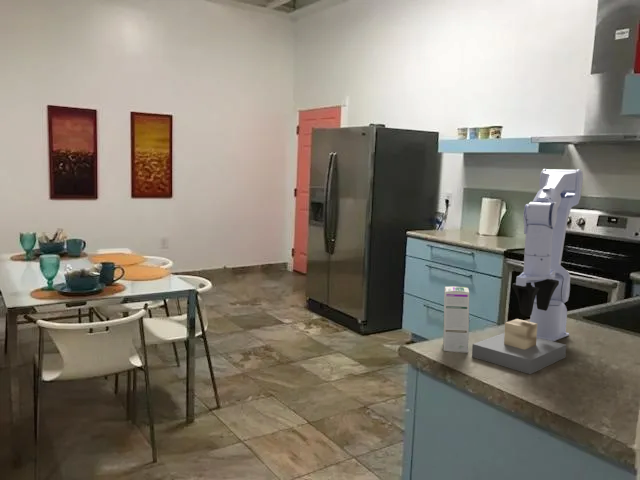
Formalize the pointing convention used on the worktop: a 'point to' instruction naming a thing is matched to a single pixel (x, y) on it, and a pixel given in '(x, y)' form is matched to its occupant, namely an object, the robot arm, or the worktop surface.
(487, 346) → the plate
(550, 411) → the worktop surface
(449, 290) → the syrup box
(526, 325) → the birch block
